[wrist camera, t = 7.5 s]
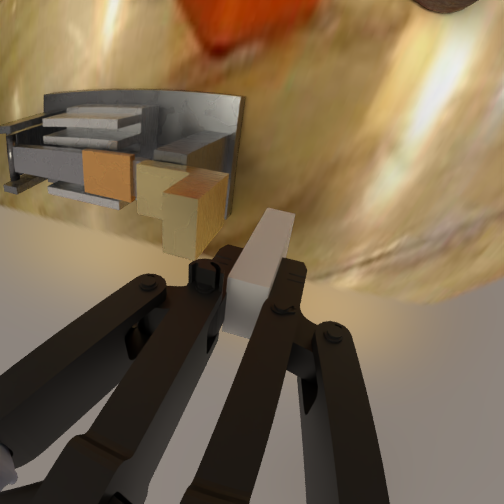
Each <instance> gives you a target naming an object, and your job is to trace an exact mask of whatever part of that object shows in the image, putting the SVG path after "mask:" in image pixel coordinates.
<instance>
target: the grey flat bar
mask: <svg viewBox="0 0 504 504" xmlns="http://www.w3.org/2000/svg"><path fill="white" fill-rule="evenodd" d="M6 141H7V153H8V162H9V171H10V178H11V181H12V182H13V181H17V180H19V179H20V173H25V174H30V175H35V176H40V177H45V178H50V179H55V180H60V181H65V182H70V183H75V184H79V185H84V188H85V192H87V193H91V194H96V195H100V196H105V197H109V198H113V199H117V200H122V201H126V202H130V203H131V202H133V201H134V200H135V197H137V182H136V164H138V163H140V162H142V161H144V160H152V159H149V158H143V157H136V156H135V154H128V153H121V152H113V151H105V150H96V149H84V150H81V149H71V148H61V147H50V146H38V145H25V144H19V145H17V143H16V133H12V134H9V135H6Z"/></svg>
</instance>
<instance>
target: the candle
mask: <svg viewBox="0 0 504 504" xmlns="http://www.w3.org/2000/svg"><path fill="white" fill-rule="evenodd" d="M415 1H417V2H418V3H419V4H421V5H422V6H424V7H426V8H427V9H430V10H434V11H436V12H441V13H452V12H456V11H459V10H462V9H464V8H466V7H467V6H469V5H471V4H473V3H475V2H476V1H478V0H415Z"/></svg>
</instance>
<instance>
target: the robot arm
mask: <svg viewBox="0 0 504 504" xmlns="http://www.w3.org/2000/svg"><path fill="white" fill-rule="evenodd" d="M294 218H295V214H293V213H289V212H285V211H280V210H276V209H272V208H267V209H266V211H265V213H264V214H263V216H262V218H261V219H260V221H259V223H258V225H257V226H256V228H255V230H254V232H253V233H252V235H251V237H250V239H249V240H248V242H247V244H246V246H245V247H244V248H240V247H236V246H232V245H226V246H224V247H222V248H221V249H219V251H218V252H217V254H216V256H215V257H214V258H213V259H198V260H195V261H193V262H191V263H190V264H189V283H188V284H187V286H178V287H177V286H166V281H165V279H163V278H162V277H161V276H159V275H156V274H143V275H140V276H138V277H136V278H135V279H133V280H132V281H130V282H129V283H127V284H126V285H124V286H123V287H122V288H120V289H119V290H117V291H116V292H114V293H113V294H111V295H110V296H108V297H107V298H106V299H104V300H103V301H101V302H100V303H98V304H97V305H95V306H94V307H93V308H91V309H90V310H88V311H87V312H85V313H84V314H83V315H81V316H80V317H79V318H77V319H76V320H74V321H73V322H71V323H70V324H69V325H67V326H66V327H64V328H63V329H62V330H60V331H59V332H58V333H56V334H55V335H53V336H52V337H51V338H49V339H48V340H47V341H45V342H44V343H43V344H41V345H40V346H39V347H37V348H36V349H35V350H33V351H32V352H31V353H29V354H28V355H27V356H25V357H24V358H23V359H21V360H20V361H19V362H17V363H16V364H15V365H13V366H12V367H11V368H10V369H8V370H7V371H6V372H4V373H3V374H2V375H0V504H144V502H145V499H146V497H147V492H148V486H149V483H150V481H151V478H152V476H153V474H154V472H155V470H156V468H157V466H158V464H159V462H160V460H161V458H162V456H163V454H164V452H165V450H166V448H167V445H168V443H169V441H170V439H171V437H172V435H173V433H174V431H175V429H176V427H177V425H178V422H179V421H180V418H181V416H182V414H183V412H184V410H185V408H186V406H187V404H188V402H189V400H190V398H191V396H192V393H193V391H194V389H195V387H196V385H197V383H198V381H199V379H200V377H201V375H202V373H203V371H204V368H205V366H206V364H207V362H208V360H209V358H210V356H211V354H212V352H213V350H214V347H215V345H216V343H217V341H218V336H219V330H220V328H221V326H222V324H223V327H222V331H224V332H227V333H230V334H234V335H237V336H241V337H244V338H248V339H250V340H249V342H248V345H247V348H246V350H245V353H244V356H243V358H242V361H241V363H240V366H239V369H238V371H237V374H236V377H235V379H234V381H233V384H232V387H231V389H230V392H229V394H228V397H227V399H226V402H225V404H224V407H223V410H222V412H221V414H220V417H219V419H218V422H217V424H216V427H215V429H214V432H213V434H212V436H211V439H210V441H209V444H208V446H207V449H206V451H205V454H204V456H203V458H202V461H201V463H200V466H199V468H198V471H197V473H196V475H195V477H194V479H193V482H192V483H191V485H190V486H189V487H188V488H187V490H186V492H185V494H184V496H183V498H182V500H181V502H180V504H249V501H250V498H251V494H252V491H253V488H254V485H255V481H256V478H257V475H258V471H259V468H260V465H261V462H262V458H263V455H264V452H265V448H266V445H267V441H268V438H269V434H270V430H271V427H272V423H273V419H274V416H275V412H276V408H277V404H278V400H279V397H280V393H281V389H282V385H283V381H284V377H285V373H286V370H288V371H289V372H291V373H293V374H295V375H297V382H298V393H299V405H300V417H301V429H302V441H303V455H304V469H305V485H306V502H307V504H390V502H389V496H388V491H387V486H386V479H385V475H384V468H383V463H382V458H381V454H380V449H379V444H378V439H377V434H376V430H375V425H374V421H373V416H372V412H371V408H370V404H369V400H368V395H367V392H366V387H365V384H364V379H363V376H362V372H361V368H360V364H359V361H358V357H357V353H356V349H355V346H354V342H353V339H352V336H351V334H350V332H349V330H348V329H347V328H346V327H345V326H343V325H341V324H339V323H337V322H332V321H328V322H323V323H320V324H319V325H316V324H314V323H312V322H311V321H309V320H308V319H306V318H305V317H304V316H303V314H302V313H301V310H300V303H301V297H302V293H303V288H304V283H305V278H306V273H307V269H306V266H305V264H304V262H299V261H295V260H291V259H287V258H286V255H287V250H288V246H289V241H290V237H291V232H292V227H293V223H294ZM117 384H118V386H117V387H116V389H115V391H114V392H113V393H112V395H111V397H110V398H109V399H108V401H107V403H106V404H105V406H104V407H103V409H102V410H101V412H100V413H99V415H98V416H97V418H96V419H95V421H94V423H93V424H92V426H91V427H90V429H89V430H88V431H87V432H86V433H85V434H82V435H76V436H75V437H73V438H72V439H71V440H70V441H69V442H68V443H67V445H66V446H65V448H64V449H63V451H62V452H61V454H60V455H59V457H58V459H57V460H56V462H55V463H54V465H53V467H52V468H51V470H50V471H49V473H48V475H47V476H46V478H45V479H44V480H43V481H40V482H36V483H33V484H30V485H26V486H22V487H19V488H14V489H11V490H6V491H2V492H1V490H2V489H3V488H4V487H5V486H6V485H8V484H14V483H15V482H16V481H17V478H18V476H17V473H16V471H15V469H16V468H18V467H21V466H23V465H25V464H27V463H28V462H30V461H32V460H33V459H35V458H36V457H37V456H39V455H40V454H41V453H42V452H43V451H45V450H46V449H47V448H48V447H49V446H50V445H51V444H52V443H54V442H55V441H56V440H57V439H58V438H59V437H60V436H61V435H62V434H64V432H66V431H67V430H68V429H69V428H70V427H71V426H72V425H73V424H74V423H76V422H77V421H78V420H79V419H80V418H81V417H82V416H83V415H85V414H86V413H87V412H88V411H89V410H90V409H91V408H92V407H93V406H94V405H96V404H97V403H98V402H99V401H100V400H101V399H102V398H103V397H104V396H105V395H107V394H108V393H109V392H110V391H111V390H112V389H113V388H114V387H115V386H116V385H117Z"/></svg>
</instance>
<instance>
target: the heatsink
mask: <svg viewBox="0 0 504 504" xmlns="http://www.w3.org/2000/svg"><path fill="white" fill-rule="evenodd" d="M244 103H245V96H237V95H229V94H220V93H209V92H197V91H182V90H161V89H104V90H84V91H69V92H58V93H50V94H45V95H44V113H40V114H36V115H33V116H29V117H26V118H22V119H19V120H16V121H13V122H9V123H6V124H3V125H0V134H2V133H6V135H9V134H12V133H16V143H17V145H19V144H25V145H38V146H50V147H61V148H71V149H81V150H84V149H96V150H105V151H113V152H121V153H128V154H135V156H136V157H143V158H149V159H152V160H153V161H159V162H166V163H172V164H178V165H184V166H190V167H196V168H202V169H207V170H213V171H218V172H224V173H229V178H228V188H227V197H226V207H225V216H224V219H227V218H228V217H229V216H230V214H231V209H232V200H233V191H234V183H235V174H236V166H237V158H238V149H239V141H240V134H241V126H242V118H243V110H244ZM23 174H24V175H23ZM20 175H22V176H20V179H19V180H17V181H13V182H12V181H10V182H8V183H6V184H4V191H6V192H9V193H13V194H19V193H21V192H23V191H25V190H27V189H29V188H31V187H33V186H35V185H37V184H39V183H41V182H43V181H45V180H47V179H48V182H52V183H53V184H51V185H49V186H48V194H52V195H57V196H61V197H66V198H70V199H74V200H78V201H83V202H87V203H91V204H96V205H100V206H104V207H108V208H113V209H117V210H120V209H122V208H123V207H125V206H126V205H128V204H129V203H130V202H126V201H122V200H117V199H113V198H109V197H105V196H100V195H96V194H91V193H87V192H85V188H84V185H79V184H75V183H70V182H65V181H60V180H55V179H50V178H45V177H40V176H35V175H30V174H25V173H20ZM135 200H137V197H135Z"/></svg>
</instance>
